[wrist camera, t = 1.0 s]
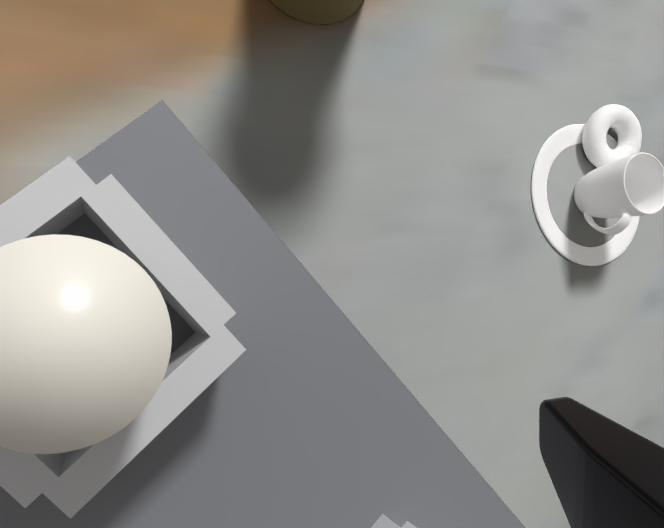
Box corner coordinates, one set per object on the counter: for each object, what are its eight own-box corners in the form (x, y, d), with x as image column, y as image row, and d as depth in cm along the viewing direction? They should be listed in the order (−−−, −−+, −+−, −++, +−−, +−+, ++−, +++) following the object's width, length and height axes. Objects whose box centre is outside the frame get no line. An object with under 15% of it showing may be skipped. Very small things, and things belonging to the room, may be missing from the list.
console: (289, 800, 23) (361, 995, 16) (-187, 383, 18) (-348, 427, 12) (491, 525, 27) (611, 593, 21) (153, 133, 23) (172, 65, 16)
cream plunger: (58, 459, 14) (46, 501, 11) (-78, 331, 13) (-130, 339, 10) (193, 337, 15) (213, 344, 13) (78, 213, 15) (71, 191, 12)
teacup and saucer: (590, 92, 33) (654, 64, 29) (659, 200, 34) (728, 187, 30) (500, 182, 30) (557, 164, 26) (579, 296, 31) (645, 294, 27)
